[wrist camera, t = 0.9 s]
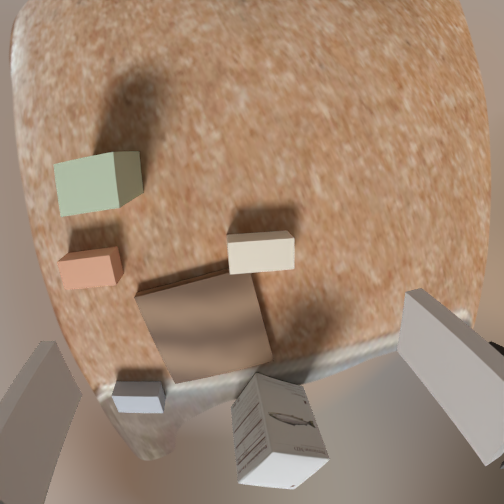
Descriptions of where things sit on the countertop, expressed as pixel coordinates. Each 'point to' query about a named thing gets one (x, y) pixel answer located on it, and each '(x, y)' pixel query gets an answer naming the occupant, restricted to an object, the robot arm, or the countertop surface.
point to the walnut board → (206, 325)
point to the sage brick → (98, 182)
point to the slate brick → (139, 397)
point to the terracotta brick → (91, 268)
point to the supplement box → (275, 435)
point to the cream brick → (260, 252)
